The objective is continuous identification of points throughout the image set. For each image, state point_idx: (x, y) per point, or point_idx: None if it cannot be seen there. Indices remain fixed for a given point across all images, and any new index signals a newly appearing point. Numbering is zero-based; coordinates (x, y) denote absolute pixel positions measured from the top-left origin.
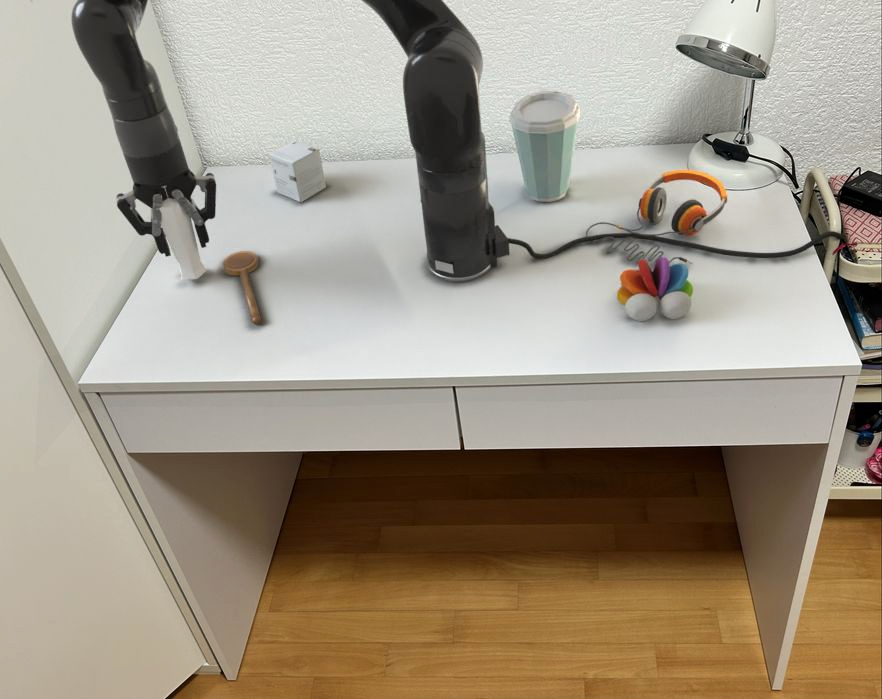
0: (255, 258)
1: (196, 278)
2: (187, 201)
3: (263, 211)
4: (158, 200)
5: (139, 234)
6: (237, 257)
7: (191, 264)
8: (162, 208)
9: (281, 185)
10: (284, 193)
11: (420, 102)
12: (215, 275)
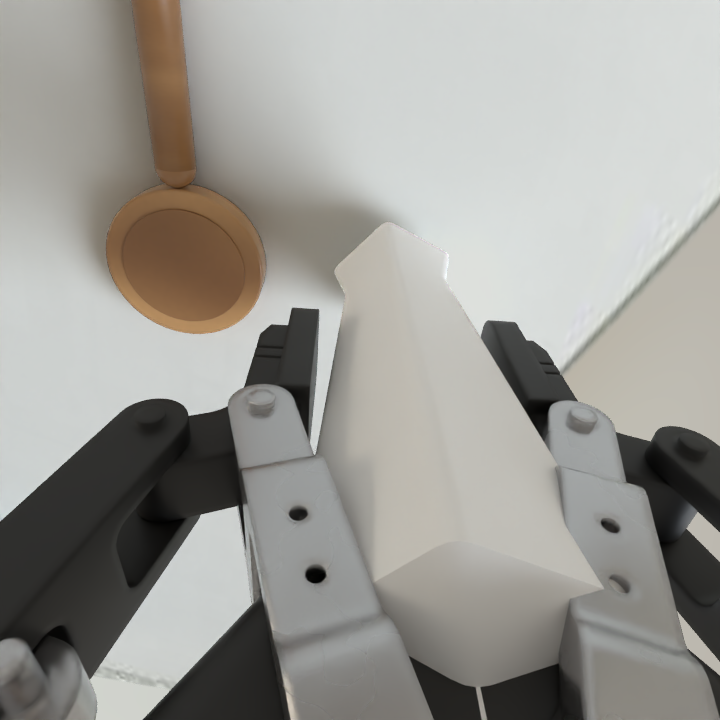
0: (113, 250)
1: (388, 224)
2: (270, 580)
3: None
4: (643, 704)
5: (705, 437)
6: (194, 294)
7: (395, 260)
8: (572, 575)
9: None
10: None
11: None
12: (307, 244)
